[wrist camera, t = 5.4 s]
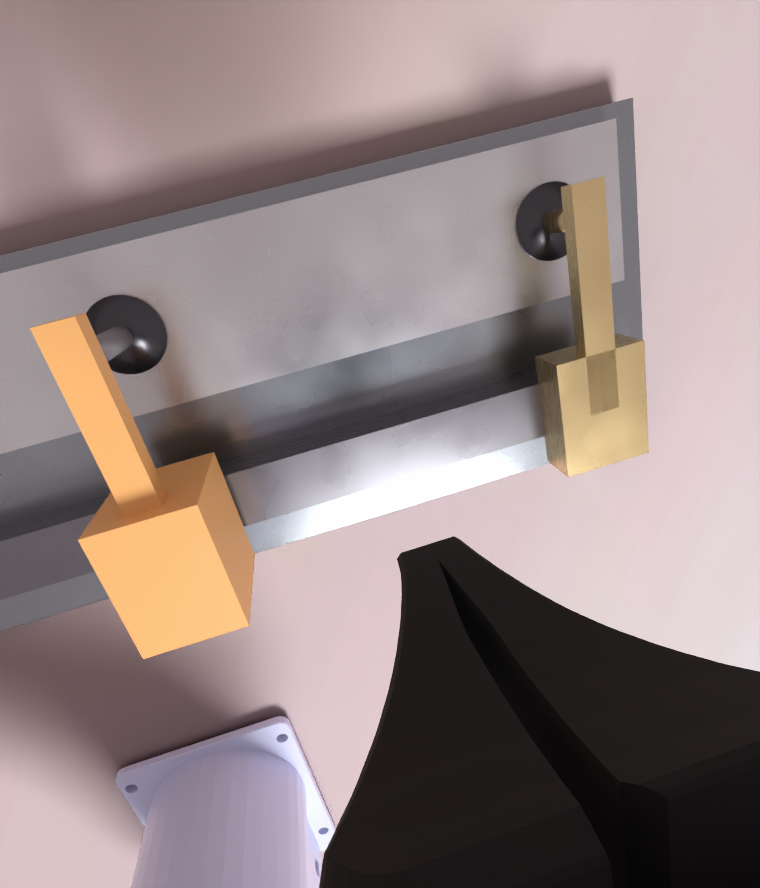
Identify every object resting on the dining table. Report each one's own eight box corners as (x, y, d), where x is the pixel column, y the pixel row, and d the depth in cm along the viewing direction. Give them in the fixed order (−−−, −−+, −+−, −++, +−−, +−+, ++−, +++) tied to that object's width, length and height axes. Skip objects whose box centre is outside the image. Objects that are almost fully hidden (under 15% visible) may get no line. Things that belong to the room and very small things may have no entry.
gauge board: (631, 425, 22) (701, 461, 19) (-64, 636, 20) (-141, 724, 16) (614, 105, 18) (701, 68, 14) (-289, 331, 15) (-467, 357, 12)
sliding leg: (255, 543, 19) (249, 625, 15) (173, 568, 19) (143, 659, 14) (156, 291, 15) (112, 307, 11) (54, 317, 15) (-31, 344, 11)
